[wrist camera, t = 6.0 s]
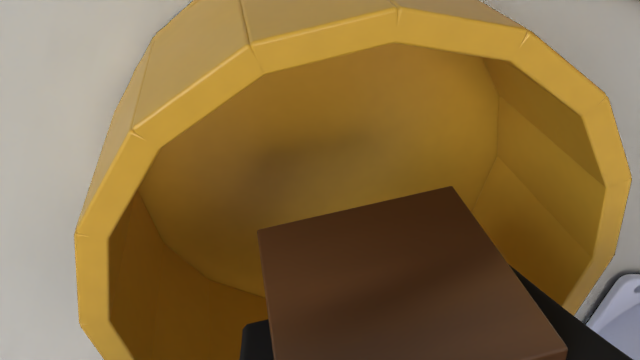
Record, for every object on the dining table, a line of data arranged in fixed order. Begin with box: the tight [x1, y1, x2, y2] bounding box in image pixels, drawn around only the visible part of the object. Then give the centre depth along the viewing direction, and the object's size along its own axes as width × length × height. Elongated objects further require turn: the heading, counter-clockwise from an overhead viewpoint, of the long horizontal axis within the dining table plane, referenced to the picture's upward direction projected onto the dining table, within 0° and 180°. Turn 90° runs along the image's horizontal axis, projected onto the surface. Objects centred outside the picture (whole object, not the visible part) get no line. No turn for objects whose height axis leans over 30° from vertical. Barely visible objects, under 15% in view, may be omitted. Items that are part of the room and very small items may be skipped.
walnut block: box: [257, 186, 568, 360], centre depth 10 cm, size 4×4×4 cm
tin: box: [74, 0, 632, 360], centre depth 14 cm, size 12×12×5 cm
